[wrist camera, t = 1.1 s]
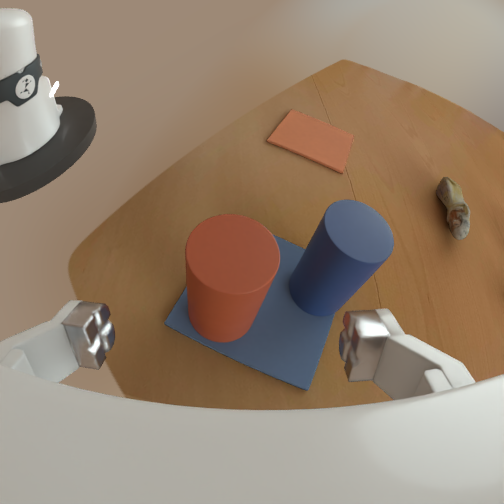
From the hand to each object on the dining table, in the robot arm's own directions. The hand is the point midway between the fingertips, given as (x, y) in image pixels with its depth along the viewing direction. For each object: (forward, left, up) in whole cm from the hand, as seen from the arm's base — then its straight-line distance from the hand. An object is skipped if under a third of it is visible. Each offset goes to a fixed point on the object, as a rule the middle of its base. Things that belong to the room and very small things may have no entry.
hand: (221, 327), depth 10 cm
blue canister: (+5, +13, -16) cm, 22 cm away
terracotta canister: (-2, +7, -16) cm, 18 cm away
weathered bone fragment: (+23, +37, -17) cm, 47 cm away
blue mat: (+1, +10, -17) cm, 20 cm away
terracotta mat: (-2, +39, -17) cm, 43 cm away
